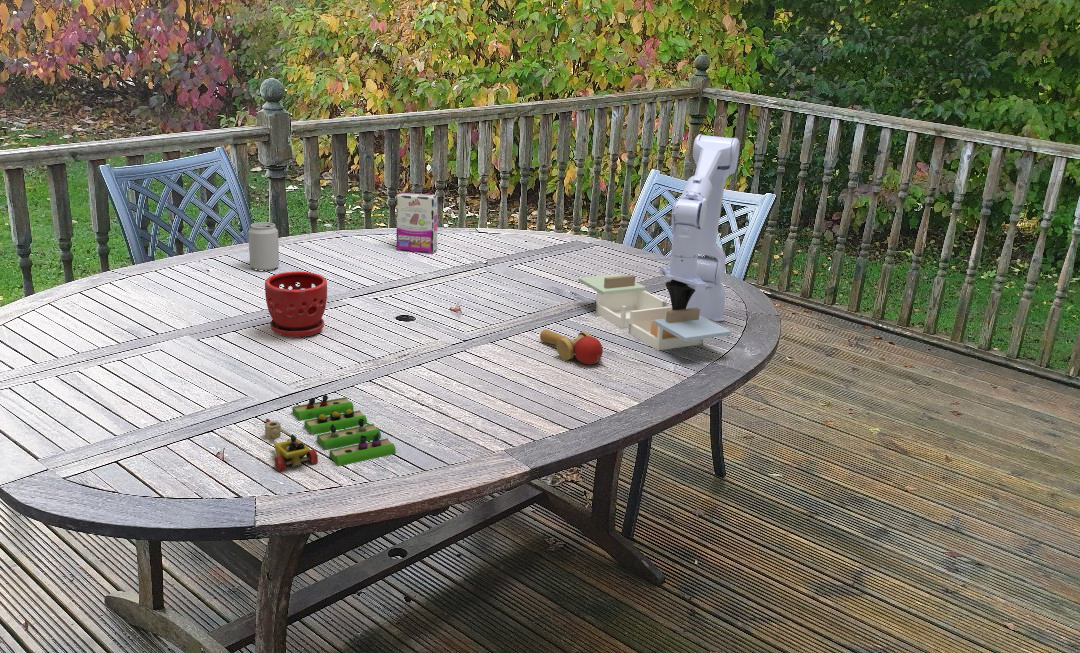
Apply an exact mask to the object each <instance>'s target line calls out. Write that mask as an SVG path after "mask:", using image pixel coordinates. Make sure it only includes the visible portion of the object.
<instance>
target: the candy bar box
mask: <svg viewBox="0 0 1080 653" xmlns="http://www.w3.org/2000/svg"><path fill="white" fill-rule="evenodd" d="M395 197H396V198H395V199H396V202H395V204H396V211H395V212H396V215H395V216H396V251H398V250H400V252H409V251H410V252H411V253H421V254H422V253H423V254H434V253H436V252H437V250H438V201H439V200H438V198H439V197H438V195H437V194H428V193H427V194H426V193H411V192H400V193H399V194H397V195H396V196H395ZM410 252H409V253H410Z"/></svg>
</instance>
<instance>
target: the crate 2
mask: <svg viewBox="0 0 1080 653" xmlns="http://www.w3.org/2000/svg"><path fill="white" fill-rule="evenodd" d="M667 311H672V305H669V306H666V307H660V308H651V309H643V310H635V311H630V322H629V328H628V334H630V335H632V337H635V338H637V339H638V340H640V341H641V342H643V343H645V344H646V345H649V346H650V347H651V348H653V349H654V350H656V351H663V350H671V349H677V348H684V347H691V346H698V345H703V342H704V339H698V340H691V341H683V340H682V339H680V338H678V337H672V338H664V339H662V334H663V329H662V328H660V327H658V332H657V337H655V336H654V335H652V334H650V332H651V321H652V320H657V319H665V318H666V314H667Z"/></svg>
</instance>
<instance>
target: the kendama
mask: <svg viewBox="0 0 1080 653" xmlns="http://www.w3.org/2000/svg"><path fill="white" fill-rule="evenodd" d="M539 337H540V338H539V339H540V341H541V342H542V343H546V344H551V345H555V346H556V351H557V353H558V356H560V358H562V360H564V361H569V360H572V359H573V358H574V357H575V358H576V360H578V362H579V363H582V364H584V365H594V364H596V363H598V361H599V360H600V359H601V358H602V355H603V352H604V351H603V350H604V348H603V345H602V343H601V342H600V340H599V339H598V338H597V337H595V336H592V335H591V334H590V333H589V332H588V331H585V330H583V331H581V332H579V333H578V335H577V337H575V338H574V339H573V340H572V339H570V338H568V337H566V336H564V335H562V334H559V333H556V332H554V331H551V330H549V329H546V328H545V329H543V330H541V332H540V335H539Z"/></svg>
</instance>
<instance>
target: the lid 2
mask: <svg viewBox="0 0 1080 653" xmlns="http://www.w3.org/2000/svg"><path fill="white" fill-rule="evenodd" d="M699 314H700V309H699V308H697V307H696V308H688V309H680V310H672V311H667V314H666V318H665V319H657V320H653V324H655V325H657V326H659V327H660V328H662V329H664V330H666V331H668V332H669V333H671V334H673V335H675V336H676V337H678V338H680V339H682V340H683V341H691V340H698V339H703V340H706V339H711V338H719V337H724V336H731V335H732V330H730V329H727V328H726V327H724V326H722V325H720V324H718V323H716V322H715V321H713V320H711V319H710V320H708V319H706V318H704V317H702V316H701V315H699Z"/></svg>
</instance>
